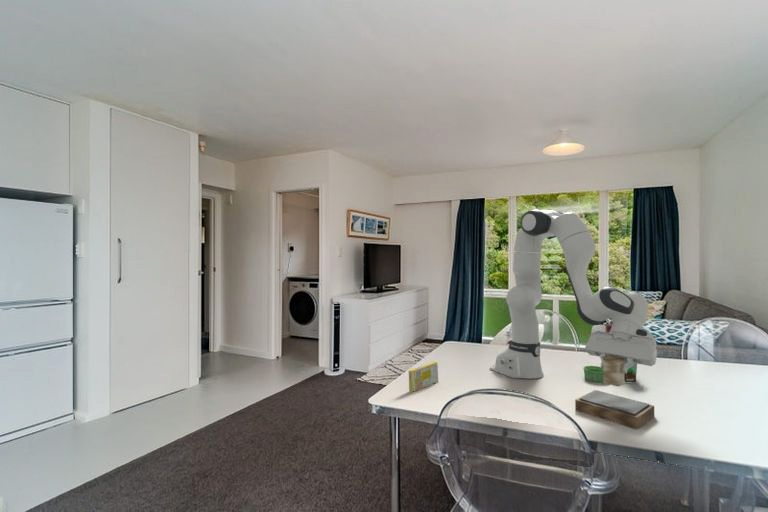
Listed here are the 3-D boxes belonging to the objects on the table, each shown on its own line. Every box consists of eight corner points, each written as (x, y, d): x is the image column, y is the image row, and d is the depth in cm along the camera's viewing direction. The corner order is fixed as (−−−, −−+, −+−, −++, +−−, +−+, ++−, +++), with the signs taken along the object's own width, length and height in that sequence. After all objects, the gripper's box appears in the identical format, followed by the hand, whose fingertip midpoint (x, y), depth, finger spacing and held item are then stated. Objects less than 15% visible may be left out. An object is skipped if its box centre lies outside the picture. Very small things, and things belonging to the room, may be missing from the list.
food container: (645, 385, 148) (644, 359, 148) (627, 384, 150) (627, 358, 150) (631, 375, 160) (631, 351, 160) (615, 374, 162) (615, 351, 162)
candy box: (434, 381, 156) (434, 361, 156) (438, 382, 155) (438, 362, 155) (408, 391, 145) (408, 370, 145) (412, 392, 143) (412, 371, 143)
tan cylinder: (603, 383, 123) (603, 358, 123) (609, 380, 125) (609, 356, 125) (618, 386, 119) (618, 361, 119) (624, 383, 122) (623, 358, 122)
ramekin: (578, 377, 158) (578, 367, 158) (593, 374, 162) (593, 364, 162) (598, 384, 150) (597, 373, 150) (613, 381, 154) (613, 370, 154)
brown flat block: (575, 410, 125) (575, 398, 125) (594, 400, 134) (594, 388, 134) (637, 429, 111) (637, 415, 111) (654, 416, 119) (654, 404, 119)
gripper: (589, 325, 135) (577, 357, 129) (657, 333, 118) (646, 371, 112) (595, 336, 137) (583, 368, 131) (662, 345, 121) (652, 382, 115)
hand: (613, 369), depth 122 cm, fingers closed on tan cylinder, 4 cm apart
